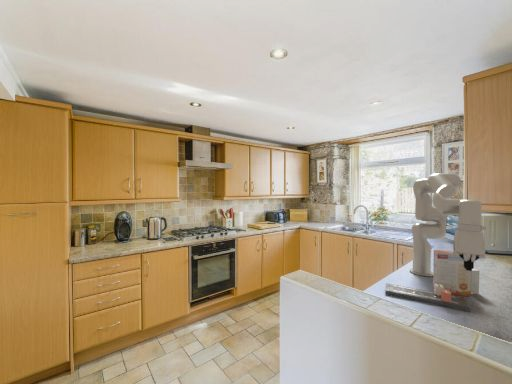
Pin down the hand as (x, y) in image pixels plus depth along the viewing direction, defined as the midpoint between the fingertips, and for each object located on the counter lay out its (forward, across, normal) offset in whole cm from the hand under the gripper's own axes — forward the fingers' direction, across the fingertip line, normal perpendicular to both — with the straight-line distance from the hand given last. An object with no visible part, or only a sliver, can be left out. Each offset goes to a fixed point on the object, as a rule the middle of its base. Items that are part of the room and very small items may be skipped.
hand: (468, 269), depth 104 cm
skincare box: (+18, -6, -26) cm, 32 cm away
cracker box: (+18, +3, -19) cm, 26 cm away
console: (+17, +16, -3) cm, 24 cm away
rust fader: (+15, +8, 0) cm, 17 cm away
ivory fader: (+15, +9, -7) cm, 19 cm away
